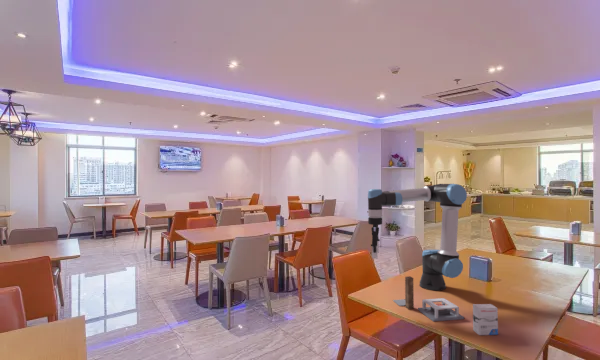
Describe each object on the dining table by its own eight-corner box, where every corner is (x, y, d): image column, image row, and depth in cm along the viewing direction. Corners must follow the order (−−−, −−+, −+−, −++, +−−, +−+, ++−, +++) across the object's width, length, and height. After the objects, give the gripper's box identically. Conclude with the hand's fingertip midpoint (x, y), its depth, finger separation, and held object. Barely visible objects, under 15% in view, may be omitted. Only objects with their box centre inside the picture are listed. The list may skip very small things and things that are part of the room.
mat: (406, 299, 179) (406, 299, 179) (413, 305, 171) (413, 304, 171) (392, 300, 178) (392, 300, 178) (399, 306, 170) (399, 305, 170)
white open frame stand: (446, 307, 168) (446, 297, 168) (463, 319, 154) (463, 307, 154) (417, 309, 165) (417, 299, 165) (433, 321, 151) (433, 309, 151)
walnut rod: (410, 306, 169) (410, 276, 169) (413, 308, 166) (413, 278, 166) (405, 307, 169) (405, 276, 169) (408, 309, 166) (408, 278, 166)
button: (441, 307, 162) (441, 303, 162) (446, 310, 158) (446, 306, 158) (434, 307, 161) (434, 303, 161) (438, 310, 157) (438, 307, 157)
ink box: (491, 329, 143) (491, 303, 143) (498, 335, 138) (498, 307, 138) (472, 330, 142) (472, 303, 142) (479, 335, 137) (478, 308, 138)
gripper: (369, 214, 190) (370, 250, 190) (366, 219, 166) (366, 260, 166) (382, 214, 188) (383, 251, 188) (381, 219, 164) (381, 261, 164)
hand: (375, 255), depth 177 cm, fingers open, 13 cm apart
